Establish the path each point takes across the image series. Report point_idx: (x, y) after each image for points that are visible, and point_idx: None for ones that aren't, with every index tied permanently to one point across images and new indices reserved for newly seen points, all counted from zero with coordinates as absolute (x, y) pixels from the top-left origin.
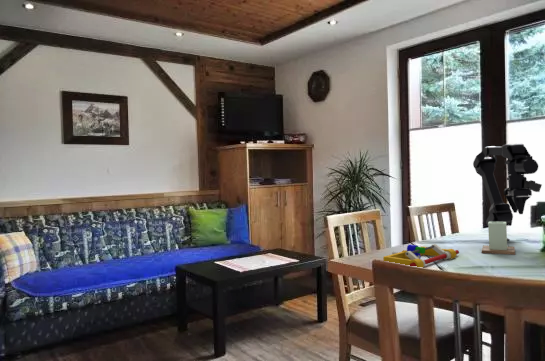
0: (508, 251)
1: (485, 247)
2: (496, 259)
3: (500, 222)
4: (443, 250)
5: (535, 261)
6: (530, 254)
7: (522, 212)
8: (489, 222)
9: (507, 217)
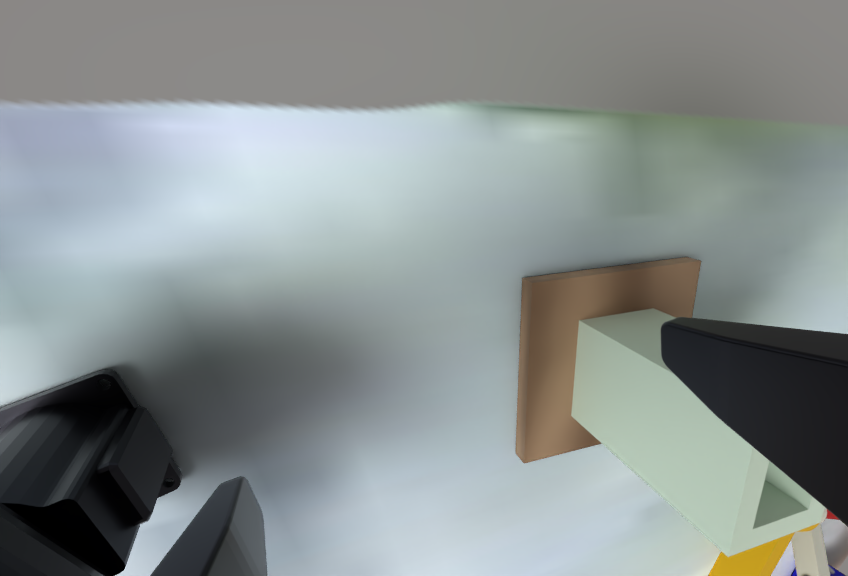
0: (692, 295)
1: (588, 431)
2: (788, 323)
3: (763, 460)
4: (812, 533)
5: (829, 149)
6: (673, 174)
7: (709, 327)
8: (782, 530)
9: (45, 573)
